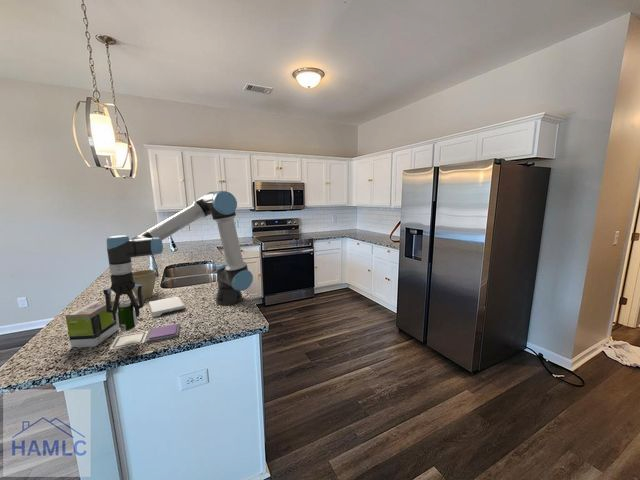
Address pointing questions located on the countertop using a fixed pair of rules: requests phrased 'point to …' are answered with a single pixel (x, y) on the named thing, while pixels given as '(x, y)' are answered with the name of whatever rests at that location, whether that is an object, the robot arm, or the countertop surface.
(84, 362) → the countertop surface
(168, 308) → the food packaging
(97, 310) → the tea box
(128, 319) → the beer can
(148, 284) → the plant pot
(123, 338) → the print sheet
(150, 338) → the ink pad
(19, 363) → the countertop surface
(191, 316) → the countertop surface
